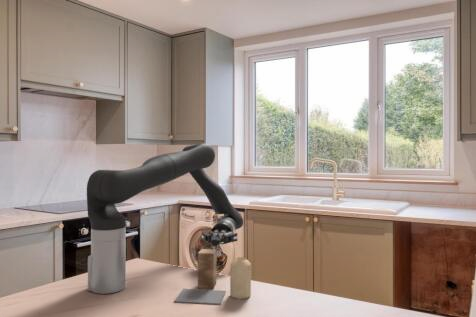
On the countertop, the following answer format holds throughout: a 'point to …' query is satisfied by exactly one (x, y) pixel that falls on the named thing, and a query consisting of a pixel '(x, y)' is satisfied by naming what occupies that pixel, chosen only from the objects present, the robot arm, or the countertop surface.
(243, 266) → the candle
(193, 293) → the mat
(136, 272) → the countertop surface
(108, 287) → the robot arm
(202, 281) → the tan rectangular block
